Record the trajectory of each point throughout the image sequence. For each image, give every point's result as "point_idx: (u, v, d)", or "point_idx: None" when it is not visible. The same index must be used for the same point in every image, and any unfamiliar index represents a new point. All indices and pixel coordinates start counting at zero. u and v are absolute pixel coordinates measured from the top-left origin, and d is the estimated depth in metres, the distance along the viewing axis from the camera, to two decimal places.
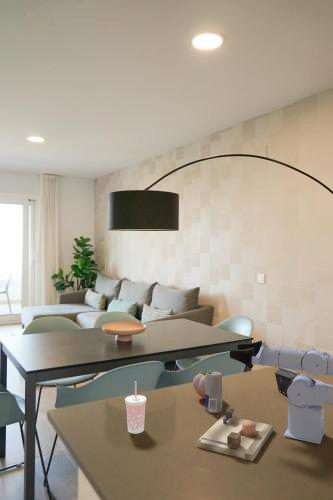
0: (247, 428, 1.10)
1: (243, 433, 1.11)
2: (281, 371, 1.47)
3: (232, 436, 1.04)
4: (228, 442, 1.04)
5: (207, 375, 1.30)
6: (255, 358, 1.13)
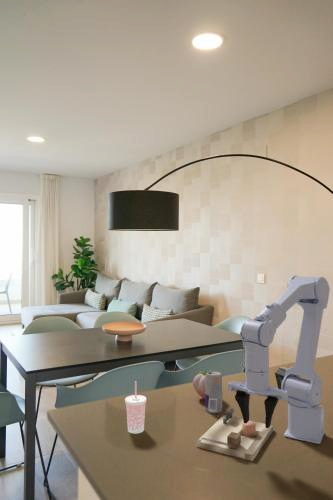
0: (247, 428, 1.10)
1: (243, 433, 1.11)
2: (281, 371, 1.47)
3: (232, 436, 1.04)
4: (228, 442, 1.04)
5: (207, 375, 1.30)
6: (285, 396, 0.97)
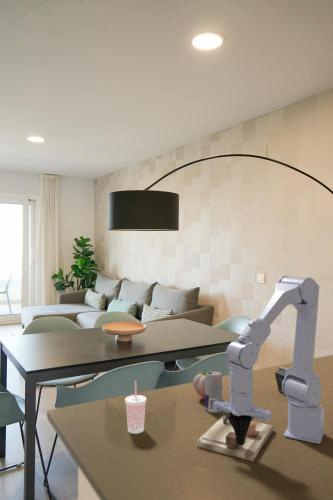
0: None
1: None
2: (281, 371, 1.47)
3: (230, 436, 1.04)
4: (226, 442, 1.04)
5: (207, 375, 1.30)
6: (268, 417, 0.99)
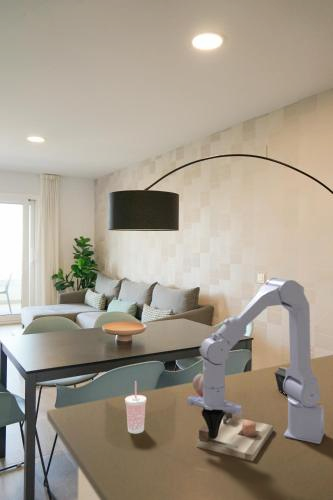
0: (247, 428, 1.10)
1: (243, 433, 1.11)
2: (281, 371, 1.47)
3: (204, 429, 1.08)
4: (200, 435, 1.08)
5: None
6: (239, 411, 1.03)
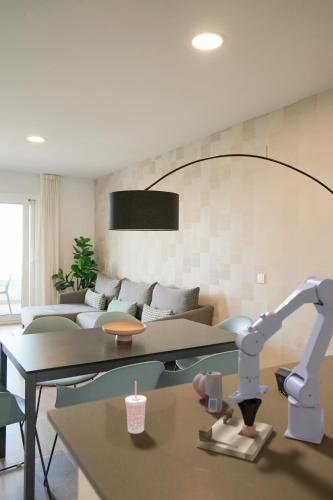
0: (247, 429, 1.10)
1: (243, 434, 1.11)
2: (281, 371, 1.47)
3: (204, 429, 1.08)
4: (200, 435, 1.08)
5: (207, 375, 1.30)
6: None
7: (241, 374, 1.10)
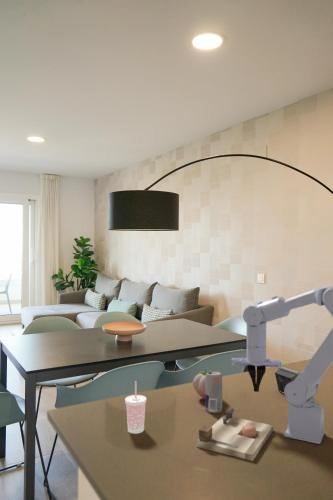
0: (247, 432, 1.10)
1: None
2: (281, 371, 1.47)
3: (204, 429, 1.08)
4: (200, 435, 1.08)
5: (207, 375, 1.30)
6: None
7: None
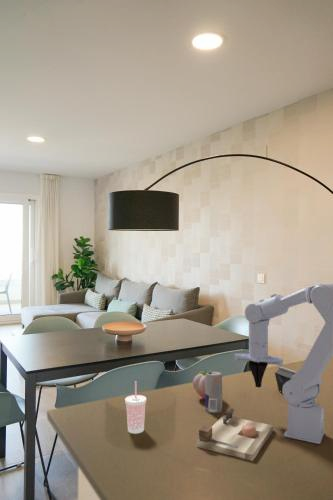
0: (247, 432, 1.10)
1: None
2: (281, 371, 1.47)
3: (204, 429, 1.08)
4: (200, 435, 1.08)
5: (207, 375, 1.30)
6: (282, 362, 1.23)
7: None
